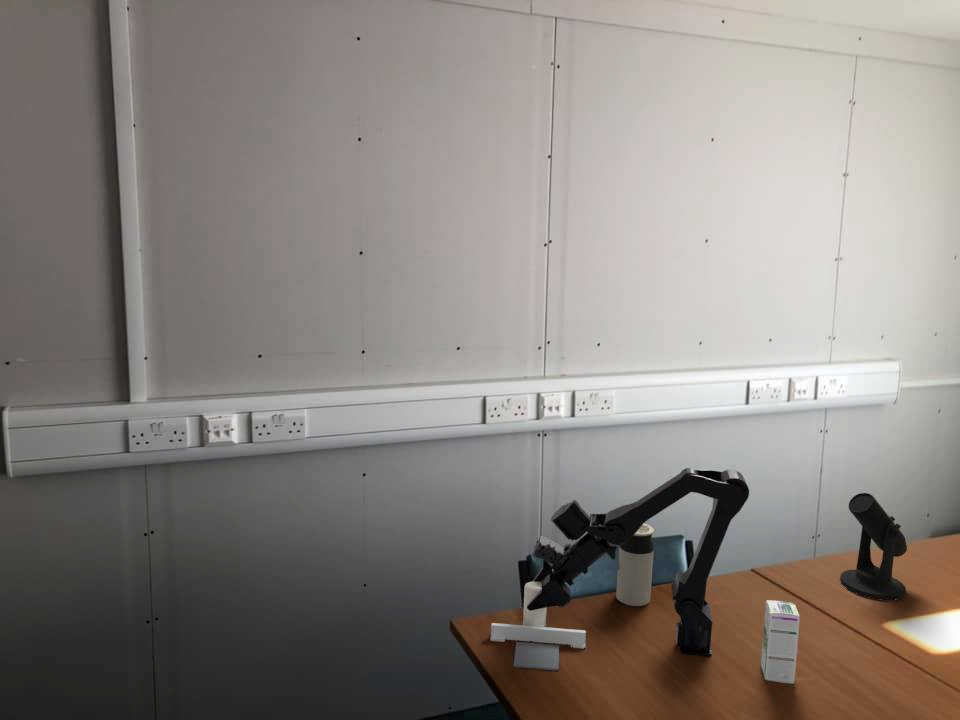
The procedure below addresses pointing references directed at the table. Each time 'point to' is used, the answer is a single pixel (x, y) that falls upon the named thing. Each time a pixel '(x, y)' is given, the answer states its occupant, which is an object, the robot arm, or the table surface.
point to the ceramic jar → (533, 616)
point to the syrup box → (780, 641)
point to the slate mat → (536, 656)
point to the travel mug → (636, 568)
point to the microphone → (885, 536)
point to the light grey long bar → (538, 634)
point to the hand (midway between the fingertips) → (528, 598)
